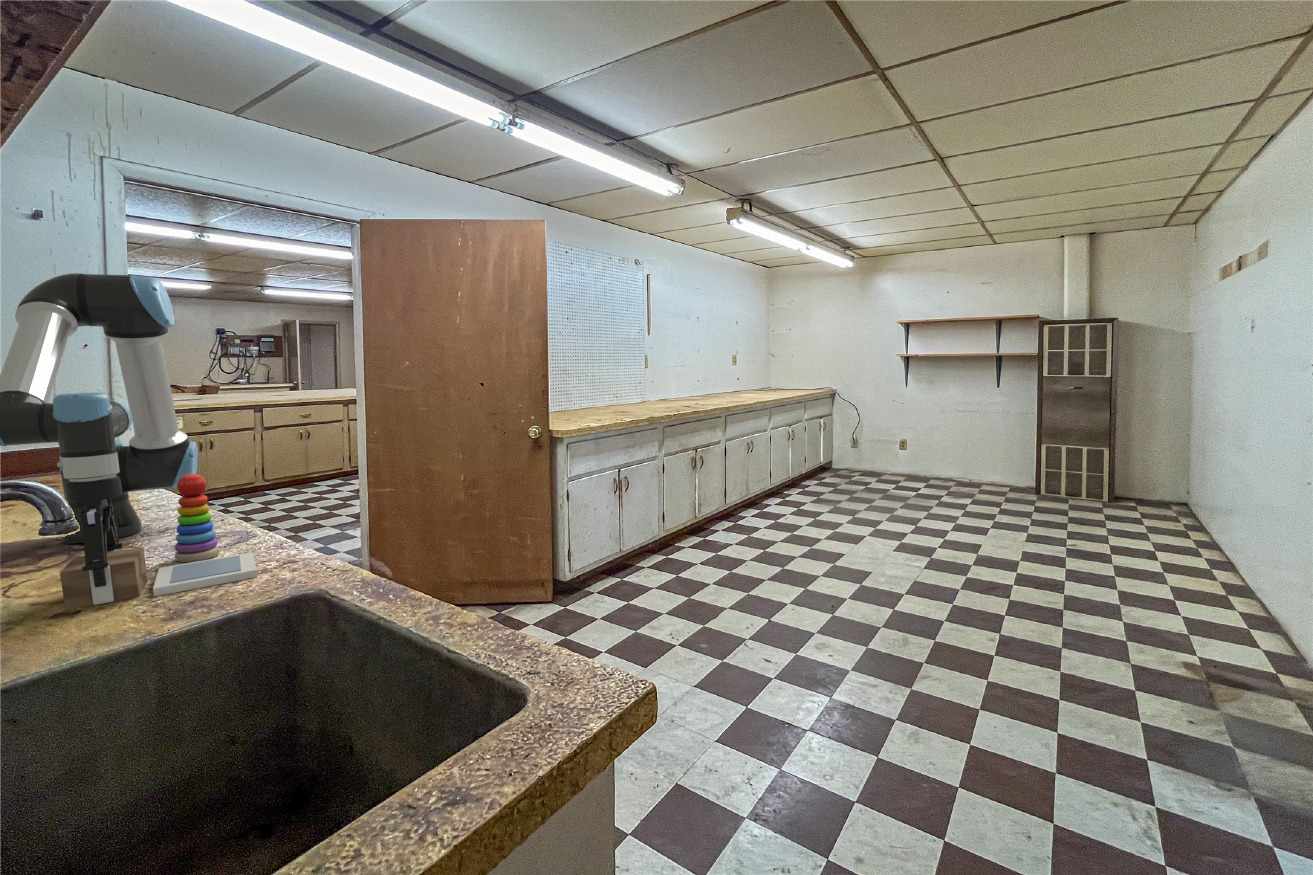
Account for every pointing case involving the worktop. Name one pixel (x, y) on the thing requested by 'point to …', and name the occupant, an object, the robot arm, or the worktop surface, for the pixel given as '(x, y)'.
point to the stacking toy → (194, 522)
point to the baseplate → (204, 573)
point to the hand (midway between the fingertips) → (108, 592)
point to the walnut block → (124, 576)
